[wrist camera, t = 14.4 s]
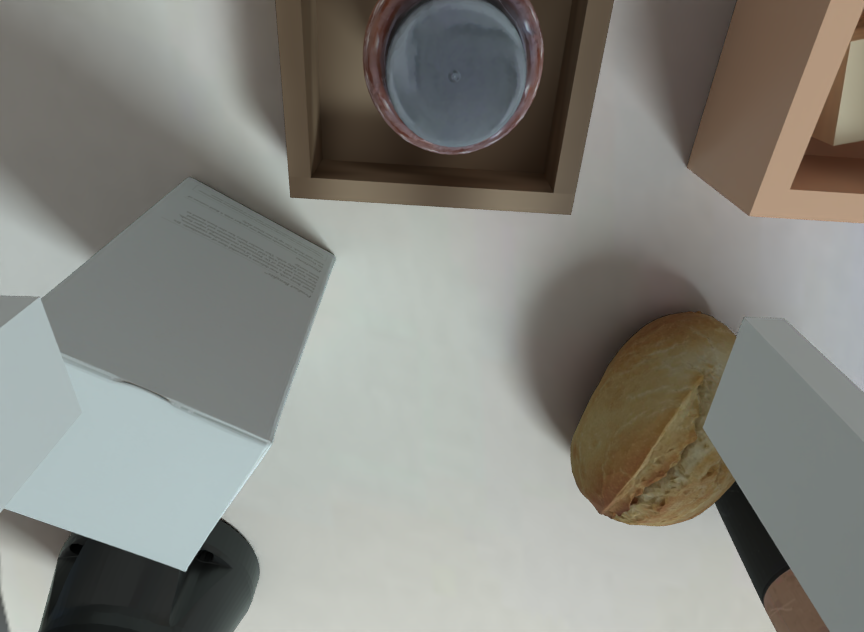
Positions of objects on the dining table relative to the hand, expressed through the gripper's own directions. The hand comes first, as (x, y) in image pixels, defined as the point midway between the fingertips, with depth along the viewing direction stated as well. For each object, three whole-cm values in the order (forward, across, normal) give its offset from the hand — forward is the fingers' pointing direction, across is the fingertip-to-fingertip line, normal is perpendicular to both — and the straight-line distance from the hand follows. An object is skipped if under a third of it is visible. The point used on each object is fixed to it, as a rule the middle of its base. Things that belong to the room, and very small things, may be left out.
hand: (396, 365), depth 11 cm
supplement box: (+20, -10, -8) cm, 24 cm away
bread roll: (+20, +15, -16) cm, 30 cm away
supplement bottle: (+19, +1, +4) cm, 20 cm away
